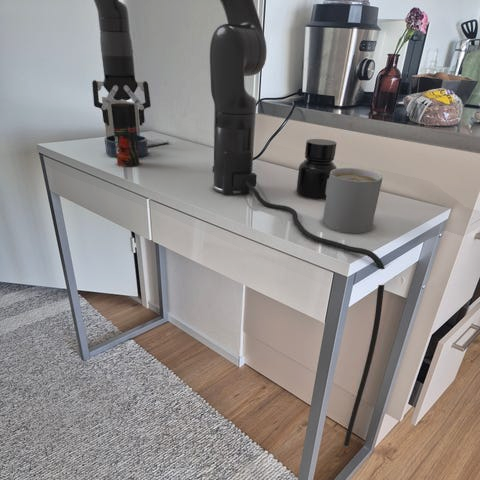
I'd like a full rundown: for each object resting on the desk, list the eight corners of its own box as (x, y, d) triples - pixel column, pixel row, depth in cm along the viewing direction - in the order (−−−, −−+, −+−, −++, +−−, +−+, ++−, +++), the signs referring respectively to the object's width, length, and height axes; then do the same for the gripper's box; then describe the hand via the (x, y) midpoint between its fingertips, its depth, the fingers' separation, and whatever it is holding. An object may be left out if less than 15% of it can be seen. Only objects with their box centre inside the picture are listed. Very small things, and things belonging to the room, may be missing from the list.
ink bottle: (336, 201, 101) (345, 147, 94) (298, 200, 101) (305, 145, 94) (328, 189, 109) (336, 138, 103) (293, 187, 109) (299, 136, 102)
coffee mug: (351, 237, 83) (361, 184, 77) (312, 221, 89) (319, 171, 84) (391, 223, 90) (403, 174, 85) (352, 209, 97) (361, 163, 91)
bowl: (149, 158, 127) (148, 142, 125) (106, 159, 125) (104, 142, 122) (146, 149, 137) (145, 134, 135) (106, 149, 135) (104, 134, 132)
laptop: (169, 143, 146) (168, 100, 139) (140, 148, 138) (136, 103, 130) (136, 135, 155) (132, 94, 148) (106, 139, 147) (101, 96, 140)
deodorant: (143, 163, 122) (139, 104, 114) (128, 167, 118) (122, 107, 110) (128, 160, 125) (122, 102, 117) (113, 164, 120) (106, 104, 112)
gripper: (86, 53, 102) (96, 127, 111) (147, 55, 105) (152, 127, 114) (87, 52, 108) (97, 123, 117) (145, 54, 111) (150, 122, 120)
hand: (124, 125), depth 116 cm, fingers open, 8 cm apart
